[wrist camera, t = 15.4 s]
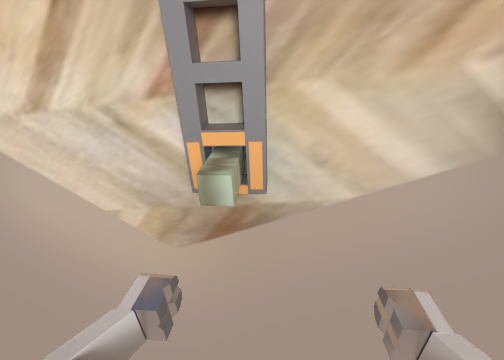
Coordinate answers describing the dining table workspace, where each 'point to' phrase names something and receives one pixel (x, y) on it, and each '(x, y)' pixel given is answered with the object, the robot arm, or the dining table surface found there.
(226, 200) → the peg
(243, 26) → the board
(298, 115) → the dining table surface
